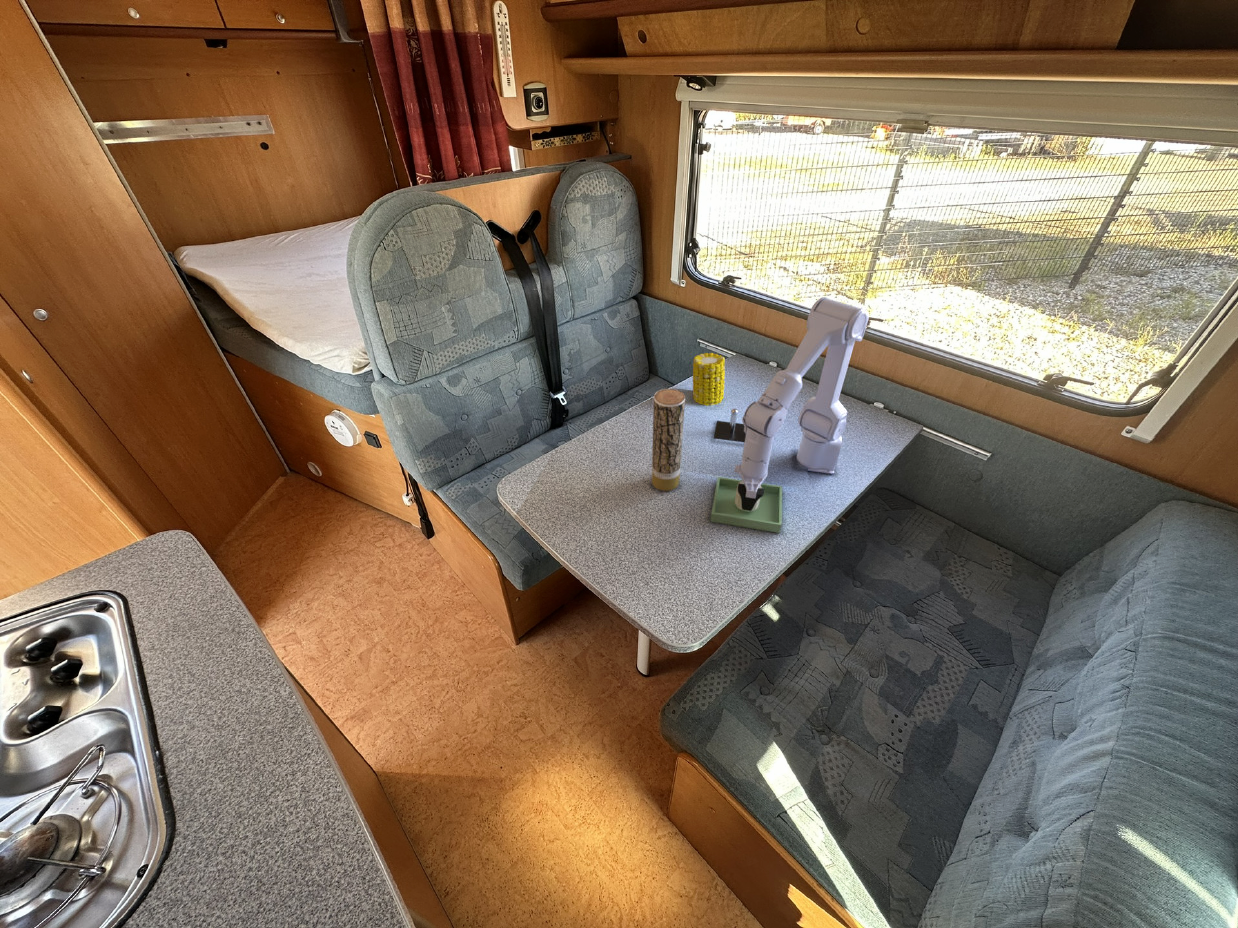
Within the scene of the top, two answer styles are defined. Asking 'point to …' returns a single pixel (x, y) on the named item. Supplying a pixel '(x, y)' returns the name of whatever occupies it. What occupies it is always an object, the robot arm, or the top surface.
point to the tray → (761, 518)
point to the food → (708, 379)
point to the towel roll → (738, 500)
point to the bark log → (667, 438)
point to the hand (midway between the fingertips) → (747, 500)
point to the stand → (730, 429)
